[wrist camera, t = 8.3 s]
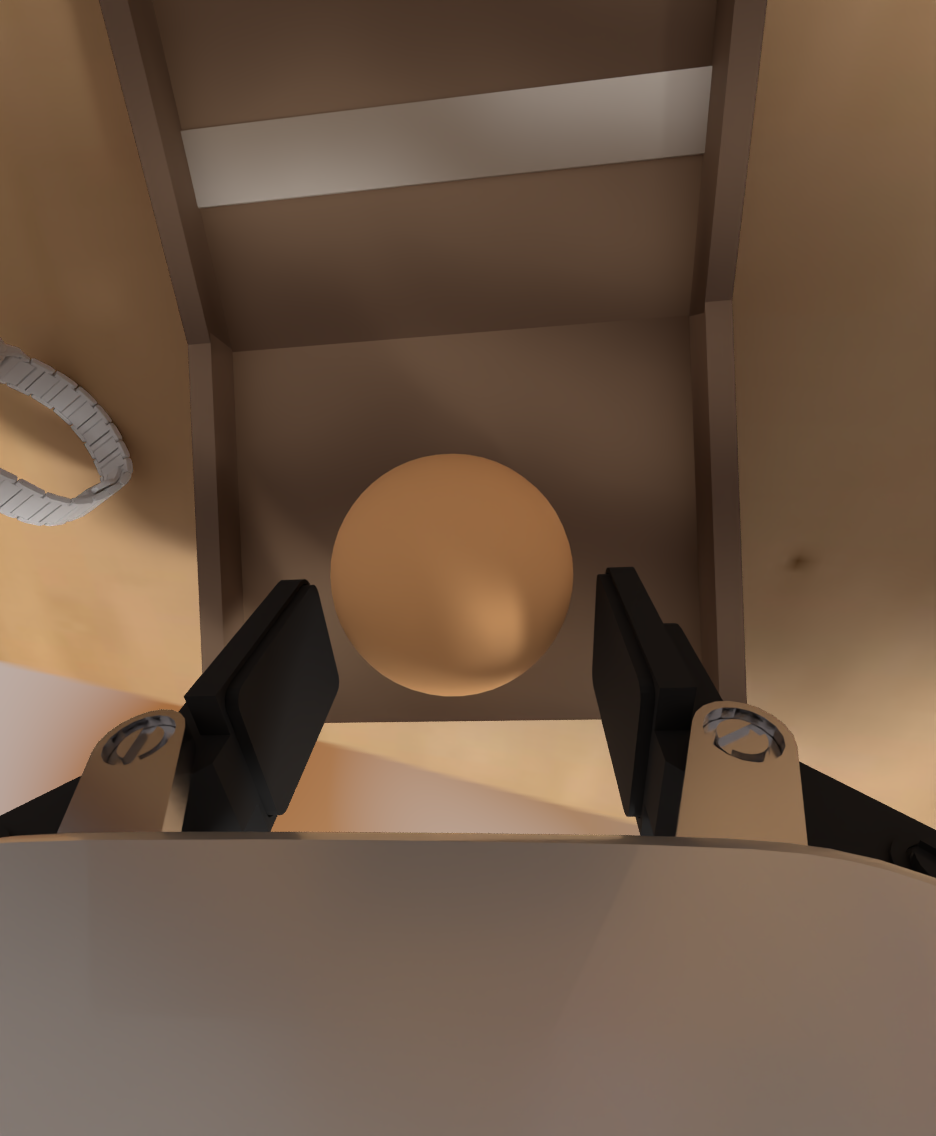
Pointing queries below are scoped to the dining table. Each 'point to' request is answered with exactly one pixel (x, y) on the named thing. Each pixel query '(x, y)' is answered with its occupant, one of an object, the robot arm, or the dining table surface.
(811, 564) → the dining table surface
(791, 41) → the dining table surface
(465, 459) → the ball
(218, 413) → the ramp
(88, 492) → the wristwatch
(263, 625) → the robot arm
